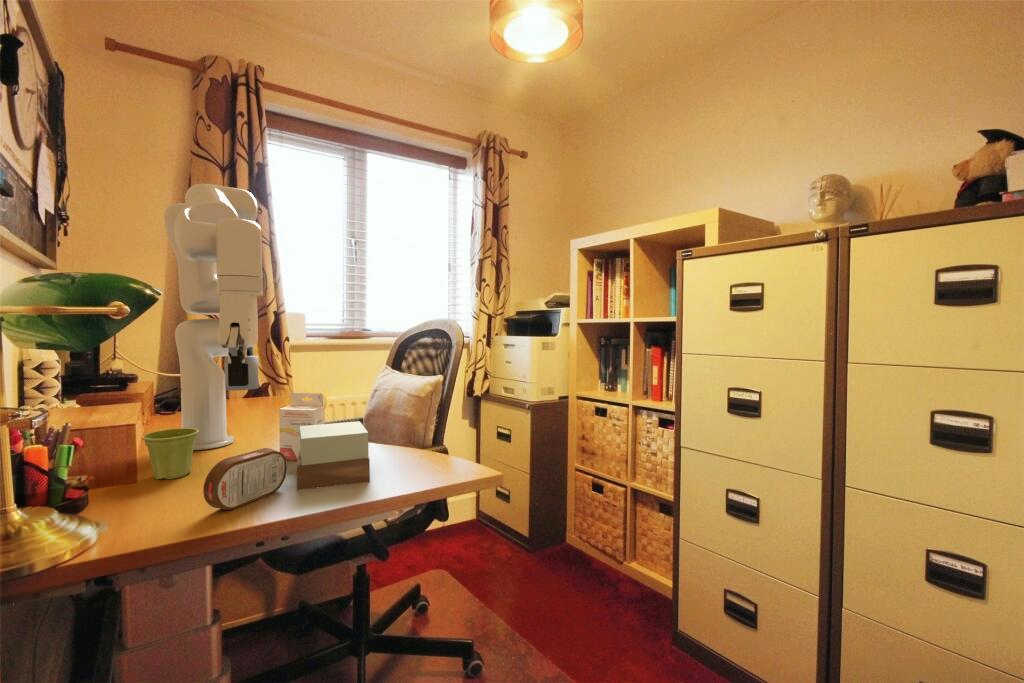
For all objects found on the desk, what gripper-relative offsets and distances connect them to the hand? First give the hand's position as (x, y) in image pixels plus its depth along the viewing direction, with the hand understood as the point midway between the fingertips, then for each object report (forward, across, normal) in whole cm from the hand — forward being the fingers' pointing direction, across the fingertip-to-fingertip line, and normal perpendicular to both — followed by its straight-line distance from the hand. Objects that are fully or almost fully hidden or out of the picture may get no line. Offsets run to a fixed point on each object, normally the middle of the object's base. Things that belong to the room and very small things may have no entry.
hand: (242, 382), depth 92 cm
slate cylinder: (+1, 0, 0) cm, 1 cm away
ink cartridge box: (+20, -17, +9) cm, 28 cm away
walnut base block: (+20, -2, +16) cm, 26 cm away
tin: (+20, +9, +2) cm, 22 cm away
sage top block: (+15, -1, +16) cm, 22 cm away
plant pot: (+20, -11, -15) cm, 27 cm away
